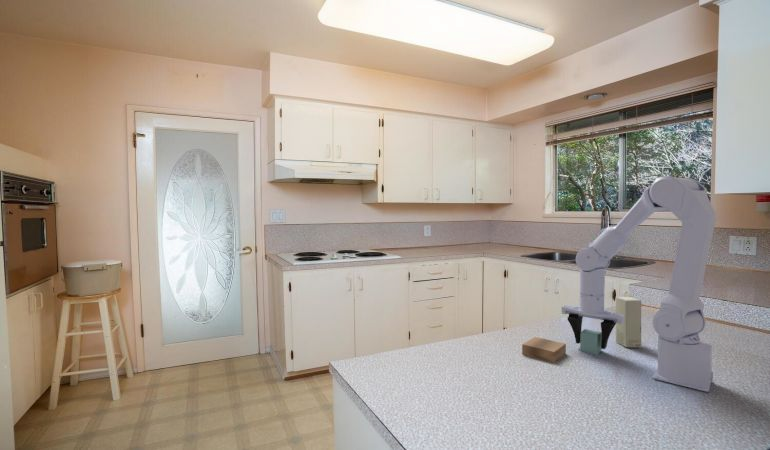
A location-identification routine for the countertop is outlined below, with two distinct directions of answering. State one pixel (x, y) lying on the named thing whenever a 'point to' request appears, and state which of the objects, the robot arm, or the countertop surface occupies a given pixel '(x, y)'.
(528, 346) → the tan wooden block
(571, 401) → the countertop surface
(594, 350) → the teal block
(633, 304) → the box
